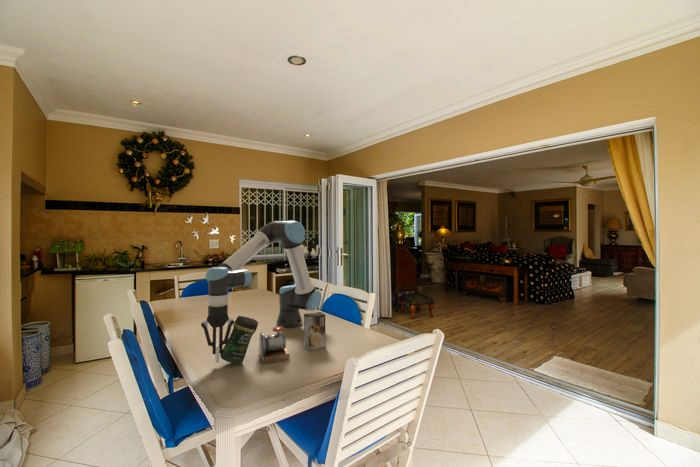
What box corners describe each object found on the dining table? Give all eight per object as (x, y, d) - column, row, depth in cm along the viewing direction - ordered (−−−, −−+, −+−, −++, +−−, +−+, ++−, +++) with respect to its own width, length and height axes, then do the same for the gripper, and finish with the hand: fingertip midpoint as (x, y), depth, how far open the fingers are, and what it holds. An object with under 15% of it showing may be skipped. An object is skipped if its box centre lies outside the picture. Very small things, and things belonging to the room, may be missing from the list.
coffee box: (320, 343, 159) (320, 311, 159) (325, 347, 153) (325, 314, 153) (303, 346, 155) (303, 313, 155) (308, 350, 149) (307, 316, 149)
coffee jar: (223, 362, 128) (242, 318, 131) (217, 354, 134) (235, 312, 137) (245, 365, 134) (262, 322, 137) (237, 357, 140) (254, 317, 143)
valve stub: (283, 350, 150) (283, 323, 149) (289, 360, 139) (289, 330, 138) (258, 354, 145) (258, 326, 145) (263, 364, 134) (263, 334, 134)
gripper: (233, 301, 138) (233, 355, 138) (201, 303, 132) (200, 360, 132) (235, 305, 131) (234, 362, 131) (200, 308, 126) (199, 367, 126)
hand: (217, 361), depth 132 cm, fingers closed
